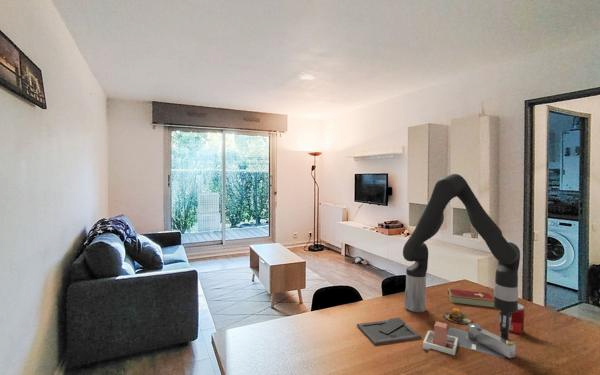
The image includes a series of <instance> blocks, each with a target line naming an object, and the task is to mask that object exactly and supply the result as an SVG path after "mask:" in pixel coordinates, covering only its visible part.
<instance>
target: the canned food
mask: <svg viewBox="0 0 600 375" xmlns="http://www.w3.org/2000/svg"><path fill="white" fill-rule="evenodd" d="M510 314H512V318H511V325H510V328H509V334H513V335H522V334H523V333H524V327H525V326H524V324H525V306H524V305H522V304H520V303H518V311H517V312H514V313H512V312H510Z"/></svg>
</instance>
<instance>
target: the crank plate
mask: <svg viewBox="0 0 600 375" xmlns="http://www.w3.org/2000/svg"><path fill="white" fill-rule="evenodd" d="M447 335H449V336H453V337H457V338H458V344H457V347H461V348H462V349H463V348H464V349H468V350H471V351H474V352H479V353H483V354H487V355H490V356H493V357H497V358H502V359H506V356H504V355H502V354H500V353H498V352H496V351H494V350H492V349H491V348H489V347H487V346H485V345H483V344H481V343H479V342H475V341H472V340H470V339H469V338H468V330H464V329H460V328H455V327H452V326H448V328H447ZM447 344H449V345H452V346H454V342H453V341H450V340H447Z"/></svg>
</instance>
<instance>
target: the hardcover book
mask: <svg viewBox="0 0 600 375" xmlns="http://www.w3.org/2000/svg"><path fill="white" fill-rule="evenodd" d="M447 295H448V297H449V298H450V301H451V303H453V304H454V303H456V304H465V305H469V306H470V305H471V306H472V305H473V306H480V307H489V308H495V307H494V294H492V292H485V291H476V290H468V289H467V290H466V289H458V288H456V289H455V288H447Z"/></svg>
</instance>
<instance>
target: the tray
mask: <svg viewBox="0 0 600 375" xmlns="http://www.w3.org/2000/svg"><path fill="white" fill-rule="evenodd" d="M447 340H450V341H453V342H454V345H452V346H453V347H452V348H449V347H447V346H446V347H443V346H439V345H436V344H434V330H427V332H426V335H425V337H424V339H423V342H422V349H423V350H426V351H430V350H434V351H437V352H442V353H446V354H449V355H453V356H456V353H457V348H458V346H457V344H458V338H457V337H453V336H449V335H447Z"/></svg>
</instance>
